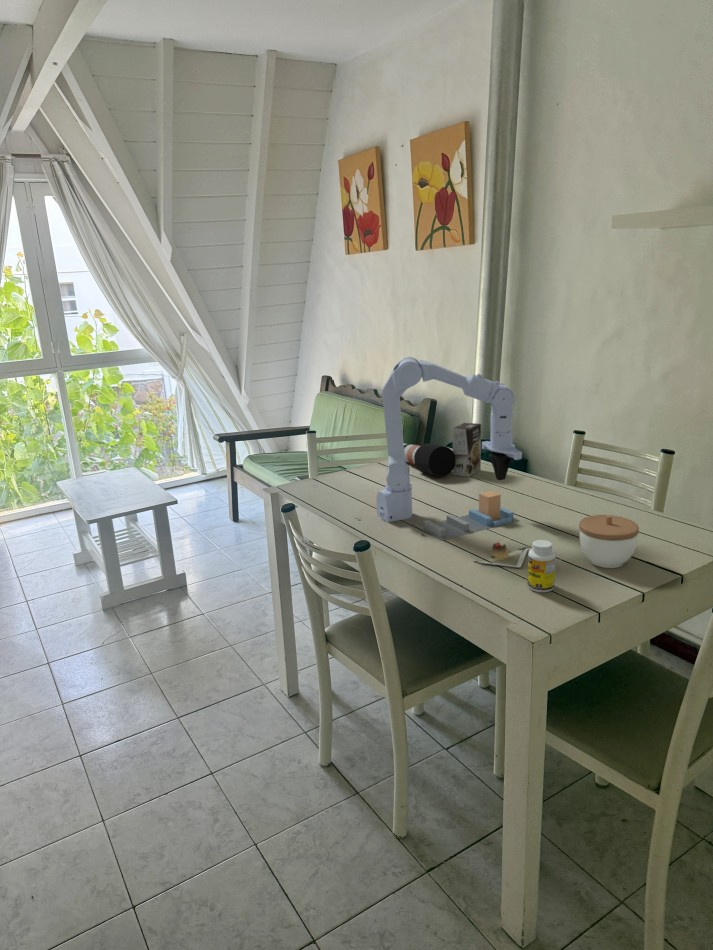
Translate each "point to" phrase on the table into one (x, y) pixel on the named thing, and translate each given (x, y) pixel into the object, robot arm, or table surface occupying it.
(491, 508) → the tan cardboard block
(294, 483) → the table surface
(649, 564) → the table surface
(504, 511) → the grey fixture plate
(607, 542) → the lidded bowl
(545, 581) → the supplement bottle
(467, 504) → the table surface
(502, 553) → the dessert
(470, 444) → the coffee box
